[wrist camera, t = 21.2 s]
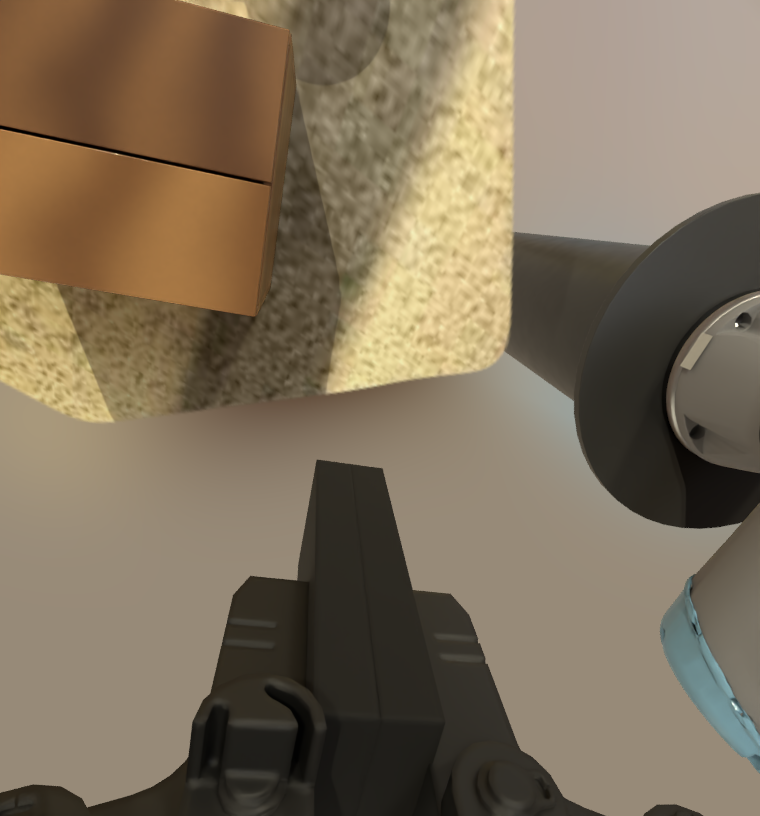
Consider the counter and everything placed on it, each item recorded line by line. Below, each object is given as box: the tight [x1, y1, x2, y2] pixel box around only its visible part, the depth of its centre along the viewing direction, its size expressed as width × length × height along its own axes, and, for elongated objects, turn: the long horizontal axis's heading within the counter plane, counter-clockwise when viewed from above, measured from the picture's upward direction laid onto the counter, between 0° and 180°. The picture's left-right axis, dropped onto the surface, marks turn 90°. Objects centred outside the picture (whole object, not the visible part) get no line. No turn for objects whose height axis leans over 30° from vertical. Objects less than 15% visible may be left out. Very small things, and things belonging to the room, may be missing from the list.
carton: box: [0, 0, 296, 315], centre depth 30 cm, size 15×13×11 cm
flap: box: [0, 129, 271, 317], centre depth 26 cm, size 15×6×1 cm, turn 78°
